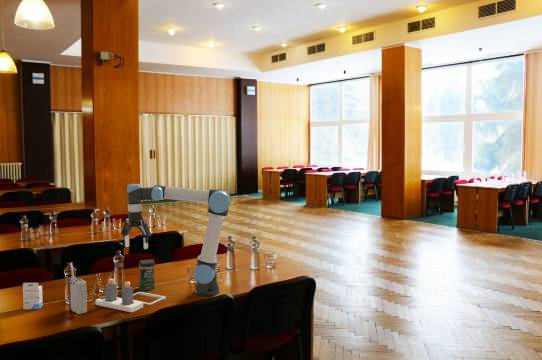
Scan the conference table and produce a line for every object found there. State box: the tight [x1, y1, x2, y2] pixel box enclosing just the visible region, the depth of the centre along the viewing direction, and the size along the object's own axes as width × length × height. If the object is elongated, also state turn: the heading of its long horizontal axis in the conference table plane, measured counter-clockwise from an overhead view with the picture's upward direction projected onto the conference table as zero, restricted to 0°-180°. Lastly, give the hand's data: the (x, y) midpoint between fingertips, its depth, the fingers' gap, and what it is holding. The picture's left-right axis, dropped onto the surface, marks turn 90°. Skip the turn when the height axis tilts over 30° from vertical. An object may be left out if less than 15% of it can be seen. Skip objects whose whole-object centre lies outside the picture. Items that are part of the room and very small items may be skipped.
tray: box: [133, 291, 167, 306], centre depth 268 cm, size 20×14×2 cm
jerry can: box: [69, 262, 88, 316], centre depth 249 cm, size 15×5×25 cm, turn 38°
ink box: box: [22, 282, 43, 310], centre depth 253 cm, size 8×5×15 cm, turn 96°
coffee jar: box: [138, 258, 156, 292], centre depth 287 cm, size 10×8×19 cm
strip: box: [94, 295, 144, 313], centre depth 256 cm, size 26×9×4 cm, turn 64°
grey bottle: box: [105, 278, 117, 302], centre depth 258 cm, size 4×4×14 cm
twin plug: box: [121, 281, 134, 306], centre depth 253 cm, size 4×4×14 cm
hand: (136, 247), depth 268 cm, fingers open, 13 cm apart
